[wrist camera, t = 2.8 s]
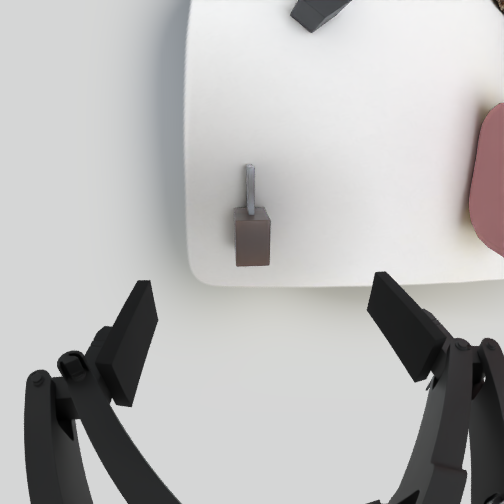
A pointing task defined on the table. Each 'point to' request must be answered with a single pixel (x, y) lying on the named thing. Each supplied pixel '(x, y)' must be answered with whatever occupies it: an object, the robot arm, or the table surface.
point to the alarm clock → (489, 182)
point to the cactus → (501, 4)
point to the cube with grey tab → (316, 12)
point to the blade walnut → (252, 229)
